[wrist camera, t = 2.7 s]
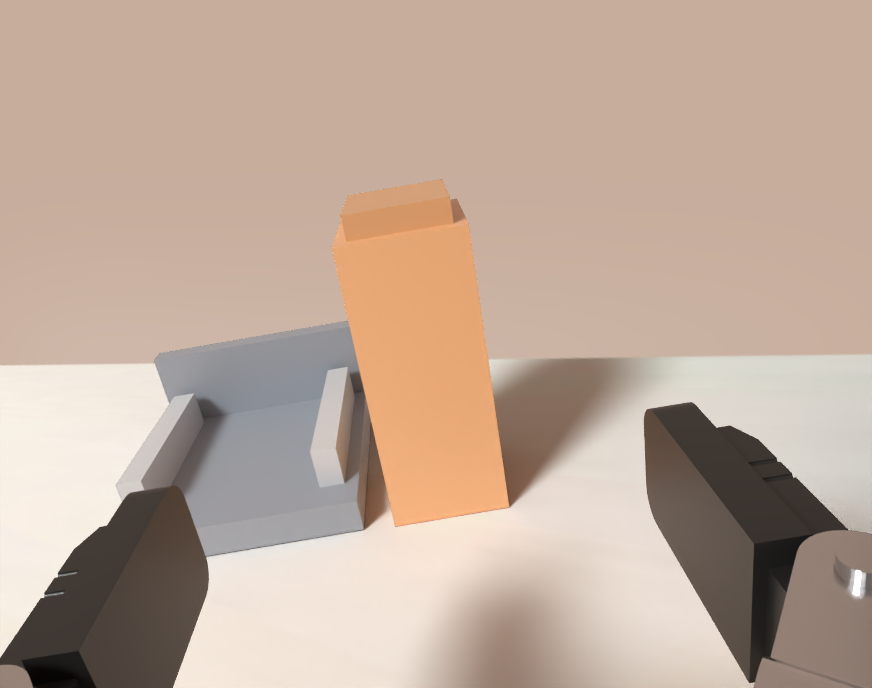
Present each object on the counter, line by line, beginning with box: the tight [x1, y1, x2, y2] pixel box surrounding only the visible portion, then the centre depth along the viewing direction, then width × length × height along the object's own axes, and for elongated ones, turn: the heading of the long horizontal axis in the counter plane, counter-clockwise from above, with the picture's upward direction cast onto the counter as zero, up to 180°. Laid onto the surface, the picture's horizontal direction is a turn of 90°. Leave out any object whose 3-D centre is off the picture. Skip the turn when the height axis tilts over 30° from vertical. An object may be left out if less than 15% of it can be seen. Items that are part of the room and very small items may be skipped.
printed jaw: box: [332, 179, 509, 527], centre depth 23 cm, size 4×4×11 cm
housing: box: [116, 321, 371, 556], centre depth 27 cm, size 9×9×4 cm
